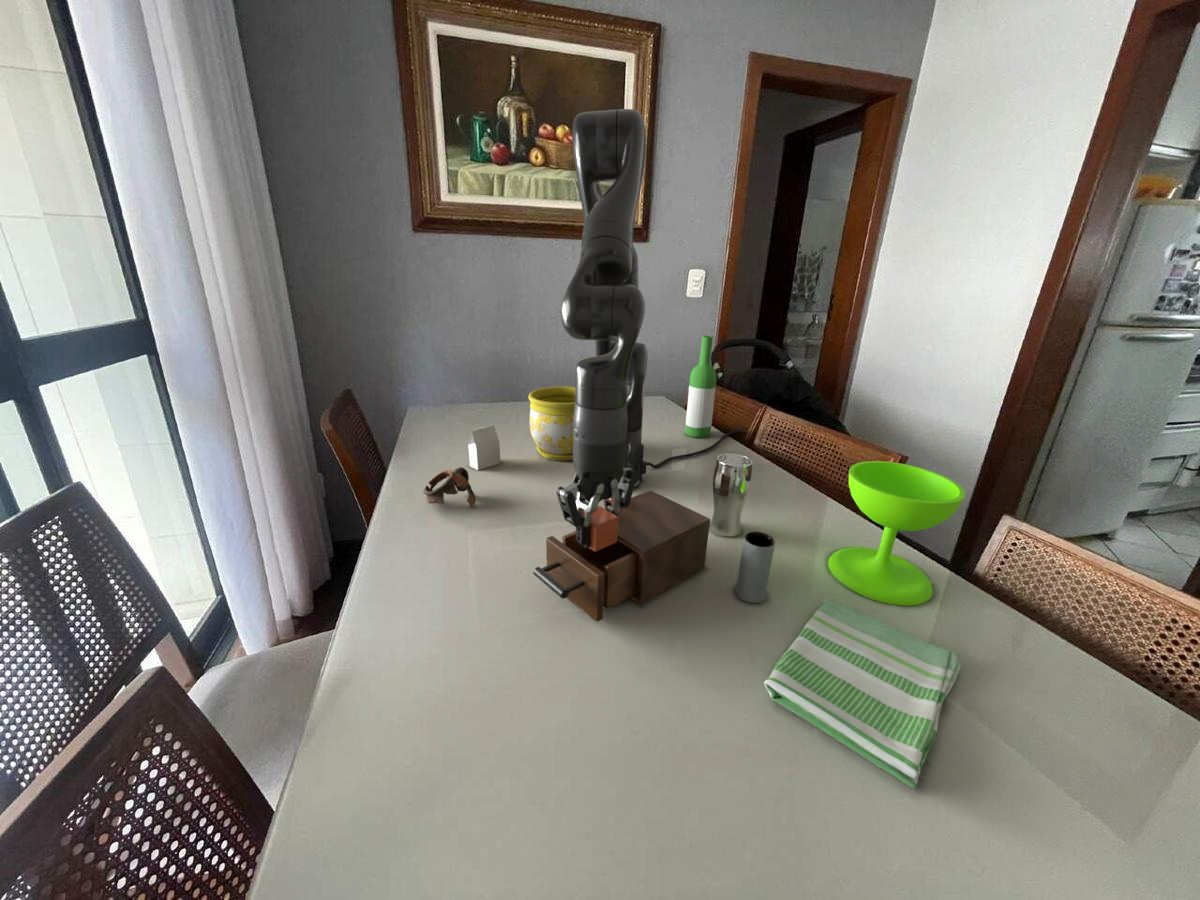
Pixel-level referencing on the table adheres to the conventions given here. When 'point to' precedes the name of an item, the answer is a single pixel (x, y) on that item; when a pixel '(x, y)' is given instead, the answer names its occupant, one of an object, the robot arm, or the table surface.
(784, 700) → the dish towel
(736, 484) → the beer glass
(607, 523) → the block
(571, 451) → the flowerpot
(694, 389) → the wine bottle
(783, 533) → the table surface
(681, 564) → the cabinet
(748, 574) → the grey cylinder
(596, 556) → the drawer
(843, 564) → the wineglass
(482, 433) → the white milk carton
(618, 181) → the robot arm
